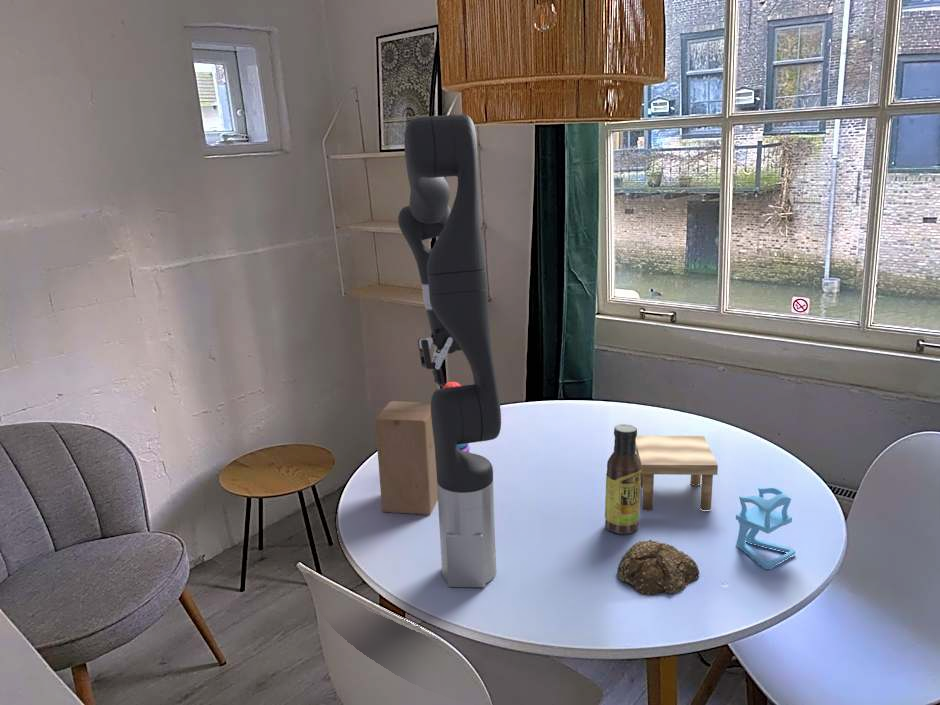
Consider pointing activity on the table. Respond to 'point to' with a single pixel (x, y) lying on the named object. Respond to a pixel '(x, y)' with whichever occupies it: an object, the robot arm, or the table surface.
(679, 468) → the small wooden side table
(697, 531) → the table surface
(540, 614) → the table surface
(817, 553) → the table surface
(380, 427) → the wooden block
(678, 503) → the table surface
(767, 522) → the chair
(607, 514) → the sauce bottle
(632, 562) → the bread roll
